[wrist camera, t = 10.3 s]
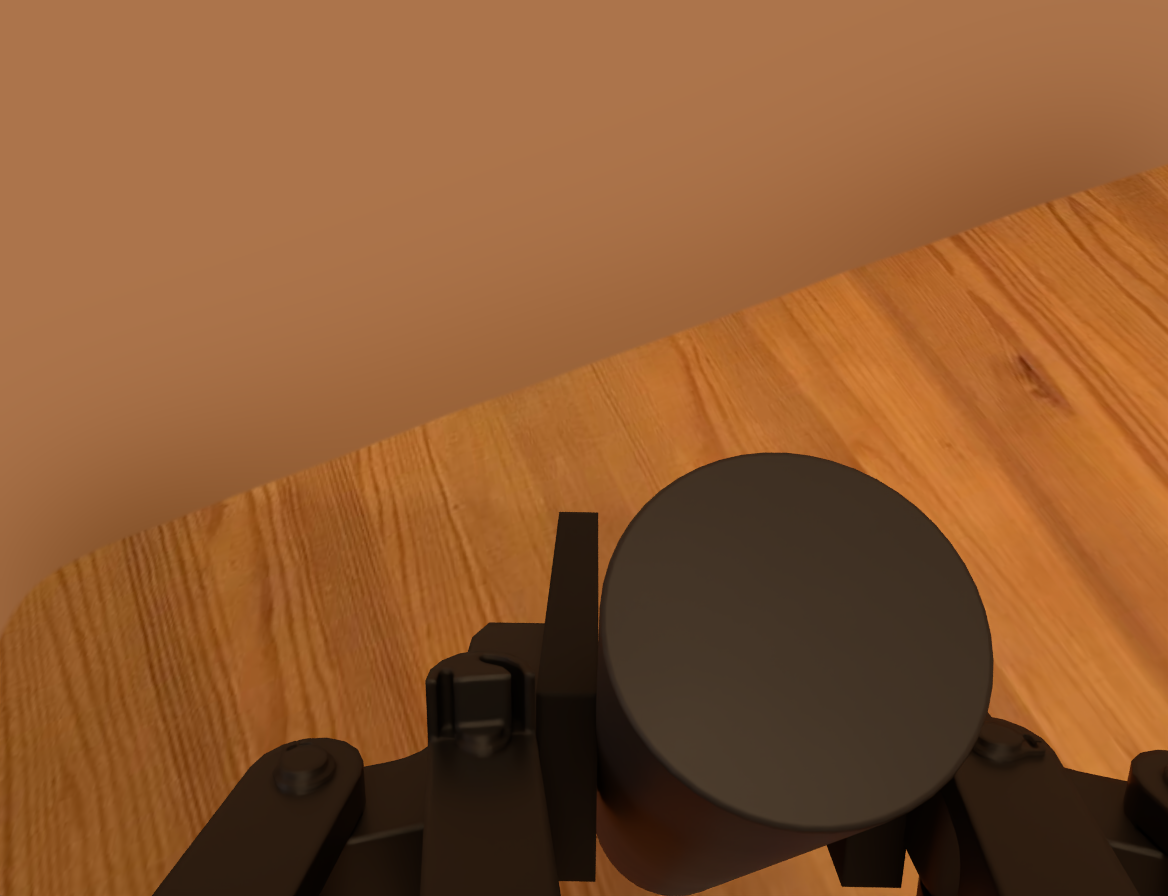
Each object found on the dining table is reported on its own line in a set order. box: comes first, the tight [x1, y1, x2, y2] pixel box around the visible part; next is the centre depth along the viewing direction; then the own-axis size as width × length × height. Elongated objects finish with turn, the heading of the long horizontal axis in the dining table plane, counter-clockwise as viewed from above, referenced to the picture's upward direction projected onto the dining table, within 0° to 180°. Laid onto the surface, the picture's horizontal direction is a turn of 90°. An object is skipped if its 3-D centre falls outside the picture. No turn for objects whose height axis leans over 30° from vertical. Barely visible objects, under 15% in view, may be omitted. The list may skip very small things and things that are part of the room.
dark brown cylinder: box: [596, 453, 993, 896], centre depth 13 cm, size 3×3×13 cm
